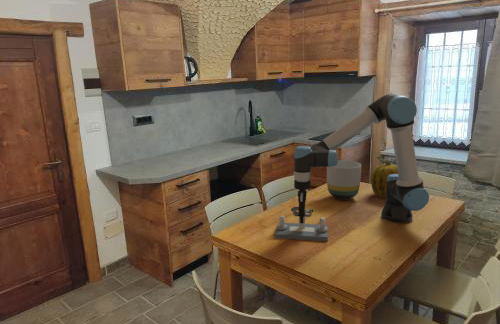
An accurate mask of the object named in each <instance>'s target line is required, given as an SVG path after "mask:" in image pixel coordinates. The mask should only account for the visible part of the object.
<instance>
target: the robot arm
mask: <svg viewBox="0 0 500 324" xmlns="http://www.w3.org/2000/svg"><path fill="white" fill-rule="evenodd" d="M417 109H418V108H417V104H416V103H415V101H414V100H413V99H412V98H410V97H408V96H406V95H401V94H400V95H399V94H395V93H394V94H392V93H389V94H385V95H383V96H381V97H378V99H376V100H375V101H373V102H371V103H370V104H369V105H367V106H366V107H365V110H364V111H362V112H361V113H360V114H358V115H356V116H355V117H354V118H352V119H351V120H350V121H348V122H347V123H345V124H344V125H342V126H341V127H339V128H338V129H337V130H335V131H333V132H332V133H331V134H330V135H328V136H326V137H325V138H324V139H322V140H320V141H319V142H317V143H315V142H314V143H312V144H311V145H310V146H307V145H299V146H296V147H295V148H294V151H293V152H294V154H293V155H294V156H293V168H294V169H293V172H292V175H294V176H293V178H294V181H293V183H294V184H293V188H294V189H295V190H298V191H297V199H298V200H297V202H298V207H299V211H298V212H299V215H297V216H296V217H298V223H299V229H305V224H306V217H305V215H304V213H305V210H307V209H306V202H307V201H306V200H307V193H308V192H307V190H309V189H310V188H311V180H312V178H311V177H312V170H311V169H312V168H320V167H321V168H322V167H323V168H324V167H325V168H327V167H331V166H336V165H337V162H338V160H339V155H338V152H337V149H339V148H341V147H342V146H344V145H345V144H346V143H348V142H349V141H351V140H352V139H354V138H355V137H357V136H358V135H360V134H361V133H362V132H364V131H365V130H367V129H368V128H369V127H371V126H373V125H374V124H378V125H379V123H381V122H383V121H384V120H385V125H386V129H388V130H390V132H391V133H390V134H391V139H392V144H393V145H392V146H393V151H394V155H395V157H394V158H395V163H396V164H395V165H397V170H398V174H391V175H388V177H387V181H386V182H387V184H386V198H385V202H384V205H383V207H382V210H381V213H380V217H381V219H383V220H384V221H387V222H391V223H395V224H396V223H397V224H407V223H410V222H412V221H413V212H417V211H421V210H423V209H424V208H425V207H426V206H427V204H428V203H429V201H430V194H429V192H428V191H427V189H425V187H424V186H425V185H424V181H423V178H422V177H420V175H419V171H418V164H417V157H416V151H415V144H414V143H415V142H414V138H413V136H414V135H413V130H412V127H413V125H414V124H415V117H416V116H417V113H418V110H417ZM412 211H413V212H412ZM305 214H306V213H305Z"/></svg>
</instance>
